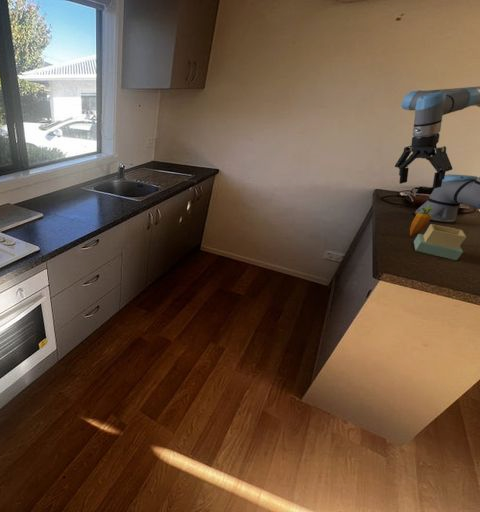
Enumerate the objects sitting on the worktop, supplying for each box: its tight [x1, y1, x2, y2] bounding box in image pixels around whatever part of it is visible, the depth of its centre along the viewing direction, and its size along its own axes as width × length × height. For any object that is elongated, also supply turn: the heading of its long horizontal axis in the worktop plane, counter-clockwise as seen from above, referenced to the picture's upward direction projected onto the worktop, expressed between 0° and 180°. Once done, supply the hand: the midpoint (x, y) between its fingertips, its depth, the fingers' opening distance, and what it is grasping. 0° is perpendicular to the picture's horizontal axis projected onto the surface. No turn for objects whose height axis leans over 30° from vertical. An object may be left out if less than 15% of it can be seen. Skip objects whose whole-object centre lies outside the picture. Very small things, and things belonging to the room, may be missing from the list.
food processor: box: [413, 223, 467, 261], centre depth 120 cm, size 13×12×10 cm
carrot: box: [409, 205, 433, 238], centre depth 131 cm, size 5×5×15 cm
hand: (419, 185), depth 126 cm, fingers open, 13 cm apart
